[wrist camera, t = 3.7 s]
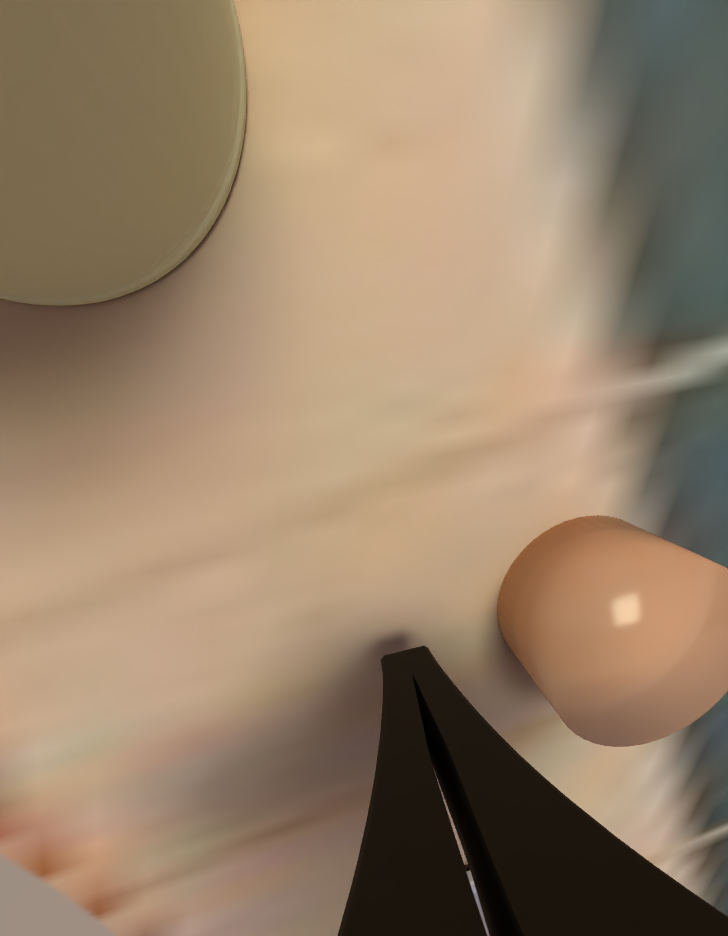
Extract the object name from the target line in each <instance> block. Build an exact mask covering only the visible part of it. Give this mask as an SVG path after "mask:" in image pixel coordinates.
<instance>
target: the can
mask: <svg viewBox="0 0 728 936" xmlns="http://www.w3.org/2000/svg"><path fill="white" fill-rule="evenodd" d="M246 104H247V90H246V72H245V61H244V51H243V45H242V39H241V33H240V26H239V22H238V17H237V13H236V9H235V4H234V1H233V0H0V299H5V300H9V301H14V302H21V303H27V304H36V305H51V306H67V305H81V304H91V303H97V302H102V301H106V300H110V299H114V298H118V297H121V296H123V295H126V294H129V293H132V292H134V291H137V290H139V289H141V288H143V287H145V286H147V285H149V284H151V283H153V282H155V281H157V280H158V279H160V278H161V277H163V276H164V275H166V274H167V273H168V272H170V271H171V270H173V269H174V268H175V267H177V266H178V265H179V264H180V263H181V262H182V261H184V260H185V259H186V258H187V257H188V256H189V255H190V254H191V252H192V251H193V250H194V249H195V248H196V247H197V246H198V245H199V244H200V243H201V241H202V240H203V239H204V238H205V236H206V235H207V233H208V232H209V230H210V229H211V227H212V226H213V224H214V223H215V221H216V219H217V217H218V216H219V214H220V212H221V210H222V208H223V207H224V204H225V202H226V200H227V197H228V195H229V193H230V190H231V187H232V184H233V181H234V178H235V175H236V172H237V169H238V165H239V160H240V156H241V151H242V147H243V140H244V132H245V124H246Z"/></svg>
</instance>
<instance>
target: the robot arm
mask: <svg viewBox="0 0 728 936" xmlns="http://www.w3.org/2000/svg"><path fill="white" fill-rule="evenodd" d="M381 664H382V672H383V706H382V720H381V733H380V741H379V749H378V757H377V764H376V771H375V778H374V784H373V790H372V795H371V801H370V806H369V811H368V816H367V821H366V826H365V830H364V835H363V839H362V844H361V848H360V853H359V857H358V861H357V866H356V870H355V874H354V878H353V882H352V886H351V889H350V893H349V897H348V900H347V904H346V908H345V911H344V915H343V918H342V922H341V926H340V929H339V933H338V936H728V917H727V916H726V915H725V914H723V913H722V912H720V911H719V910H717V909H716V908H714V907H713V906H711V905H710V904H709V903H707V902H706V901H704V900H703V899H701V898H700V897H698V896H697V895H695V894H694V893H693V892H691V891H690V890H688V889H687V888H685V887H684V886H683V885H681V884H680V883H678V882H677V881H676V880H674V879H673V878H671V877H670V876H669V875H667V874H666V873H664V872H663V871H661V870H660V869H659V868H657V867H656V866H654V865H653V864H652V863H650V862H649V861H648V860H646V859H645V858H644V857H642V856H641V855H640V854H638V853H637V852H636V851H634V850H633V849H632V848H630V847H629V846H628V845H626V844H625V843H624V842H622V841H621V840H620V839H618V838H617V837H616V836H614V835H613V834H612V833H611V832H609V831H608V830H607V829H606V828H605V827H603V826H602V825H601V824H600V823H598V822H597V821H596V820H595V819H593V818H592V817H591V816H590V815H588V814H587V813H586V812H585V811H583V810H582V809H581V808H580V807H578V806H577V805H576V804H575V803H574V802H572V801H571V800H570V799H569V798H567V797H566V796H565V795H564V794H563V793H561V792H560V791H559V790H558V789H557V788H556V787H555V786H553V785H552V784H551V783H550V782H549V781H548V780H547V779H545V778H544V777H543V776H542V775H541V774H540V773H539V772H538V771H536V770H535V769H534V768H533V767H532V766H531V765H530V764H529V763H528V762H527V761H526V760H525V759H523V758H522V757H521V756H520V755H519V754H518V753H517V752H516V751H515V750H514V749H513V748H512V747H511V746H510V745H509V744H508V743H507V742H506V741H505V740H504V739H503V738H502V737H501V736H500V735H499V734H498V733H497V732H496V731H495V730H494V729H493V728H492V727H491V726H490V725H489V724H488V722H487V721H486V720H485V719H484V718H483V717H482V716H481V715H480V714H479V713H478V712H477V711H476V709H475V708H474V707H473V706H472V705H471V704H470V702H469V701H468V700H467V699H466V698H465V697H464V696H463V694H462V693H461V692H460V691H459V690H458V688H457V687H456V686H455V685H454V684H453V682H452V681H451V680H450V679H449V677H448V676H447V675H446V673H445V672H444V671H443V669H442V668H441V667H440V665H439V664H438V663H437V661H436V660H435V658H434V657H433V655H432V654H431V652H430V651H429V649H428V648H427V647H425V646H420V647H417V648H413V649H409V650H405V651H401V652H397V653H393V654H389V655H386V656H384V657H383V658H382V659H381ZM432 765H433V766H432ZM433 768H434V769H433ZM434 770H435V772H434ZM435 773H436V775H435ZM436 776H437V778H436ZM437 779H438V781H439V784H440V787H441V790H442V792H443V795H444V798H445V800H446V803H447V806H448V809H449V811H450V814H451V817H452V820H453V822H454V825H455V828H456V831H457V833H458V836H459V839H460V841H461V844H462V847H463V850H464V853H465V856H466V859H467V862H468V865H469V868H470V870H469V871H466V869H465V866H464V863H463V860H462V857H461V854H460V851H459V848H458V845H457V841H456V838H455V835H454V832H453V829H452V826H451V823H450V820H449V817H448V813H447V810H446V807H445V804H444V801H443V798H442V794H441V791H440V788H439V785H438V782H437Z"/></svg>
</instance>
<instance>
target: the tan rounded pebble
mask: <svg viewBox="0 0 728 936" xmlns="http://www.w3.org/2000/svg"><path fill="white" fill-rule="evenodd" d="M497 616H498V622H499V627H500V630H501V633H502V635H503V637H504V639H505V641H506V642H507V644H508V645H509V647H510V648H511V649H512V651H513V652H514V654H515V655H516V656H517V658H518V659H519V661H520V662H521V663H522V665H523V666H524V668H525V669H526V670H527V672H528V673H529V674H530V676H531V677H532V679H533V680H534V681H535V683H536V684H537V686H538V687H539V688H540V690H541V691H542V693H543V694H544V695H545V697H546V698H547V700H548V701H549V702H550V704H551V705H552V707H553V708H554V709H555V711H556V712H557V713H558V715H559V716H560V718H561V719H562V720H563V722H564V723H565V724H566V725H567V727H568V728H569V729H571V730H572V731H573V732H574V733H575V734H577V735H578V736H580V737H582V738H583V739H585V740H588V741H590V742H593V743H596V744H600V745H604V746H614V747H622V746H634V745H641V744H645V743H649V742H653V741H655V740H658V739H661V738H664V737H666V736H668V735H671V734H673V733H675V732H677V731H679V730H681V729H682V728H684V727H686V726H688V725H689V724H691V723H692V722H694V721H695V720H697V719H698V718H699V717H701V716H702V715H703V714H704V713H706V712H707V711H708V710H709V709H710V708H711V707H713V706H714V705H715V704H716V703H717V702H718V701H719V700H720V699H721V698H722V696H723V695H724V694H725V693H726V692H727V691H728V569H727V568H726V567H724V566H721V565H719V564H717V563H715V562H713V561H711V560H708V559H706V558H704V557H702V556H700V555H697V554H695V553H693V552H691V551H689V550H687V549H684V548H682V547H680V546H678V545H676V544H673V543H671V542H669V541H667V540H665V539H663V538H660V537H658V536H656V535H654V534H652V533H649V532H647V531H645V530H643V529H641V528H639V527H636V526H634V525H632V524H630V523H628V522H625V521H623V520H621V519H617V518H613V517H609V516H585V517H579V518H575V519H572V520H569V521H565V522H563V523H561V524H559V525H556V526H554V527H552V528H551V529H549V530H547V531H545V532H544V533H543V534H541V535H540V536H538V537H537V538H536V539H534V540H533V541H532V542H531V543H530V544H529V545H528V546H527V547H526V548H525V549H524V550H523V551H522V552H521V553H520V554H519V555H518V557H517V558H516V559H515V561H514V562H513V564H512V565H511V567H510V569H509V570H508V572H507V574H506V576H505V578H504V581H503V583H502V586H501V589H500V593H499V597H498V605H497Z"/></svg>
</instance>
